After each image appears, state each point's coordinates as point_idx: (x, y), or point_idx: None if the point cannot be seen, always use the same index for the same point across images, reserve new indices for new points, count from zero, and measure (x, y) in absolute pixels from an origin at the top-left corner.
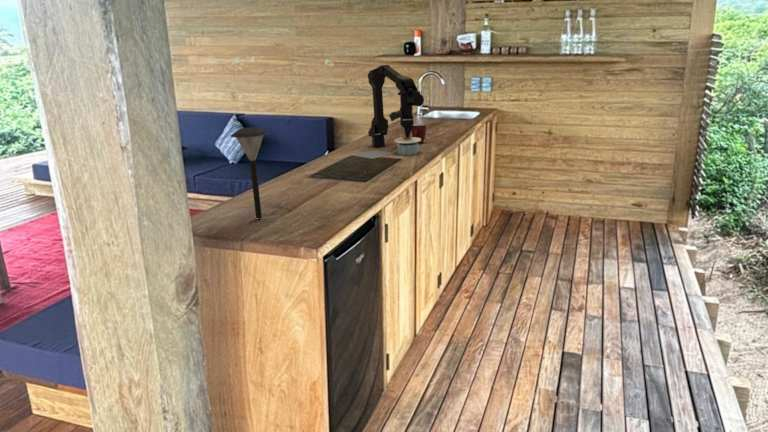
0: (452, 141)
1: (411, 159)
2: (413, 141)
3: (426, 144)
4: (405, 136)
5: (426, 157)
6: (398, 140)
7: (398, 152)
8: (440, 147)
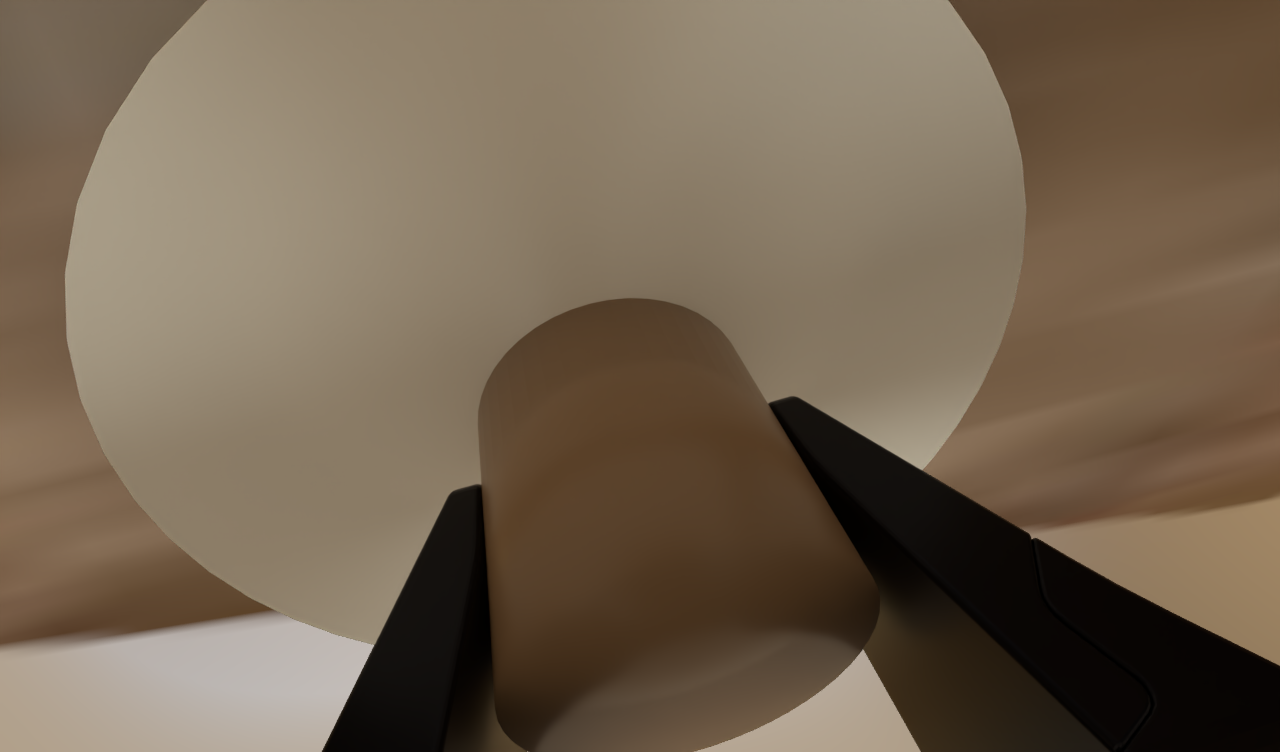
0: (1239, 497)
1: (4, 414)
2: (311, 618)
3: (1268, 298)
4: (490, 491)
5: None
6: (325, 167)
7: None
8: (978, 494)
